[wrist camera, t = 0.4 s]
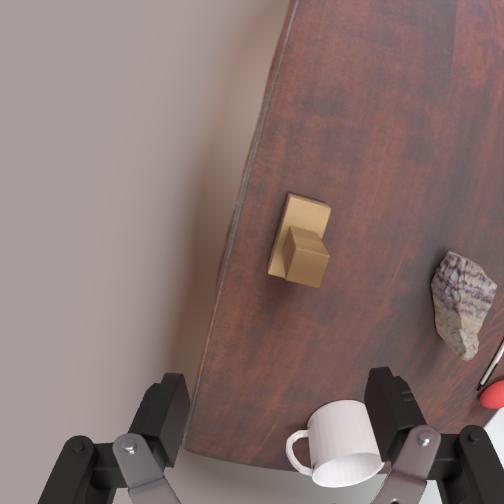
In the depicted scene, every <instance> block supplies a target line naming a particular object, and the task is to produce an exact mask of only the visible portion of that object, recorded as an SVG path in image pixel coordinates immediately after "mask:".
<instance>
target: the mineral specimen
mask: <svg viewBox="0 0 504 504" xmlns="http://www.w3.org/2000/svg"><path fill="white" fill-rule="evenodd" d="M431 287H432V294H433V300H434V305H435V313H436V314H435V323H436V328H437V332H438V333H439V335H440V336H441V337H442V338H443V340H444V341H445V343H446V344H447V345H448V346H449V347H450V348H451V349H453V350H454V351H455V353H456V354H457V355H458V356H459V357H460V358H461V359H463V360H471V359H472V358H473V357H474V355H475V354H476V353H477V347H478V343H479V342H478V338H477V335H478V332H479V330H480V328H481V327H482V322H483V320H484V318H485V316H486V315H487V313H488V310H489V308H490V306H491V304H492V301H493V298H494V296H495V293H496V288H497V285H496V284H494V282H493V281H491V280H490V279H489V278H488V277H487V276H486V275H484V272H483V270H482V268H481V267H480V266H479V265H477V264H475V263H474V262H472V261H471V260H469V259H467V258H465V257H463V256H460V255H458V254H456V253H454V252H449V251H448V252H447V255H446V257H445V258H444V260H443V261H442V262H441V264H440V267H439V268H437V269H436V274H435V276H434V278H433V279H432V282H431Z"/></svg>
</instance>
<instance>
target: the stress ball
mask: <svg viewBox="0 0 504 504" xmlns="http://www.w3.org/2000/svg"><path fill="white" fill-rule="evenodd" d="M480 402H481V404H482V406H484V407H486V408H489V409H498V408H502V407H504V380H501V381H498V382H496V383H494V384H492V385H490V386H489V387H487V388H486V389H485V390H484V391H483V392H482V394H481V397H480Z"/></svg>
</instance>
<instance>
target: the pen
mask: <svg viewBox="0 0 504 504" xmlns="http://www.w3.org/2000/svg"><path fill="white" fill-rule="evenodd" d="M503 352H504V341H503V343H502V345H501V347H500V349H499V351H498V353H497V354H496V356H495V358H494V360H493V362H492V363H491V365H490V367H489V369H488V370H487V372H486V374H485V376H484V377H483V379H482V380H481V382H480V386H479V388H478V389H477V391H479V390H480V388H481V387H484V386H485V384H486V383H487V381H488V380H489V378H490V376H491V375H492V373H493V371H494V370H495V368H496V366H497V365H498V363H497V362H498V361H499V359H500V357H501V355H502V353H503Z"/></svg>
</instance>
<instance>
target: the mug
mask: <svg viewBox="0 0 504 504" xmlns="http://www.w3.org/2000/svg"><path fill="white" fill-rule="evenodd" d="M307 428H308V430H299V431H297V432H295V433H294V434H292V435H291V437H289V438H288V440H287V443H286V454H287V456H288V458H289V460H290V462H291V463H292V465H293V466H294V467H295V468H296V469H297V470H298V471H299V472H300V473H303V474H306V475H310V476H312V478H313V481H314V482H315V483H317V484H318V485H321V486H325V487H344V486H349V485H353V484H357V483H359V482H362V481H365V480H367V479H368V478H370V477H372V476H374V475H375V474H376V473H378V472H379V471H380V470H381V469H382V467H383V465H384V462H382V461H381V457H380V454H379V450H378V447H377V443H376V440H375V436H374V433H373V430H372V426H371V423H370V420H369V416H368V413H367V410H366V407H365V405H364V404H363V403H361V402H358V401H354V400H340V401H335V402H332V403H329V404H327V405H324V406H322V407H321V408H319V409H318V410H317V411H315V412H314V413H313V415H312V416H311V417H310V419H309V421H308V425H307ZM301 437H309V447H310V458H311V468H312V469H310V468H307V467H305V466H302V465H301V464H300V463H299V462H298V460H297V459H296V458H295V456H294V454H293V450H292V444H293V442H295V441H296V440H297V439H299V438H301Z"/></svg>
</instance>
